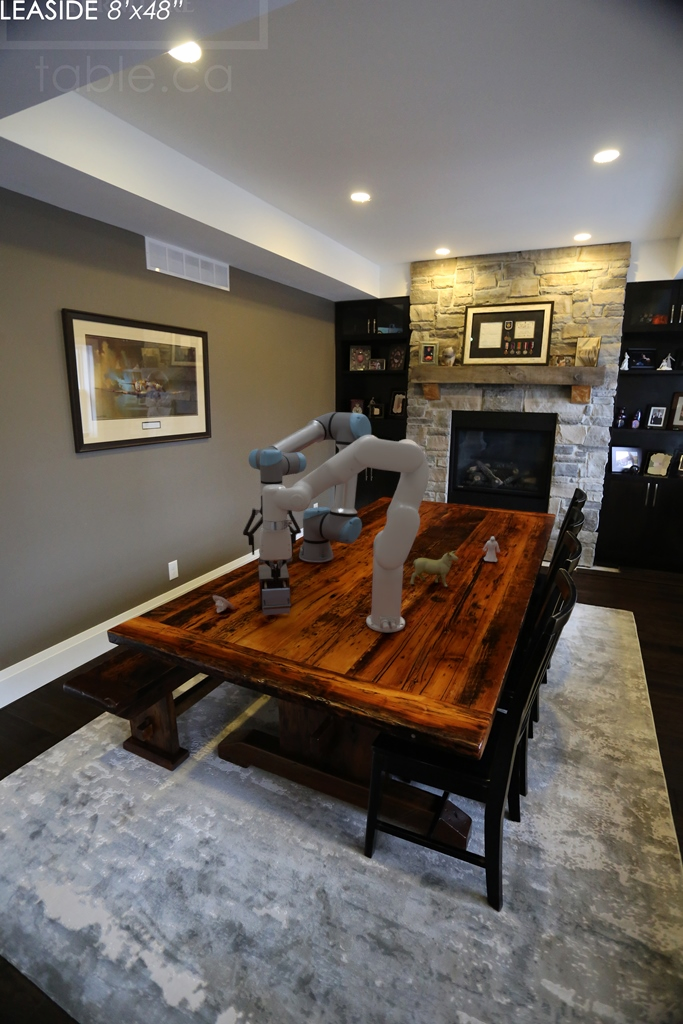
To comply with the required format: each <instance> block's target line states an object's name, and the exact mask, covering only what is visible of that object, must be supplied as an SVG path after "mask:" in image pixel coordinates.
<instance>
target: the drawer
mask: <svg viewBox="0 0 683 1024" xmlns="http://www.w3.org/2000/svg"><path fill="white" fill-rule="evenodd" d="M262 604H263V608H262V616H269V615H284V614H291V608H292V603H291V589H290V588H286V583H285V580H279V581H264V589H262Z"/></svg>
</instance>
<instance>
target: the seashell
mask: <svg viewBox="0 0 683 1024" xmlns="http://www.w3.org/2000/svg"><path fill="white" fill-rule="evenodd" d="M212 599H213V601H214V602H215V604H214V605H215V608H216V610H215V611H216V613H217V614H219V613H222V612H224V611H225V610H226V609H227V608H229V609H233V610H234V609H235V606H234V604H233V603H231V602H230V601H229V600H227V599H226V598H224V597H223V596H219V595H216V594H215V595H214V594H213V595H212Z"/></svg>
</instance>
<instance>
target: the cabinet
mask: <svg viewBox="0 0 683 1024" xmlns="http://www.w3.org/2000/svg"><path fill="white" fill-rule="evenodd" d="M273 564H274V563H273ZM274 565H275V568H276V565H277V563H275V564H274ZM279 580H285V583H286V588H290V574H289V571H288V565H287V563H285V564H284V565H283V566H282V568H281V577H279ZM264 581H274V580H273V578H271V568H270V567H269V566H268V565H267V564H258V595H259V607H260V609H263V604H262V589H264ZM275 581H277V580H275Z"/></svg>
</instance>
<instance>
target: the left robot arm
mask: <svg viewBox="0 0 683 1024" xmlns="http://www.w3.org/2000/svg"><path fill="white" fill-rule="evenodd" d="M364 435H372V425H371V421H370V420H369V418H368V416H366V415H365V414H363V413H358V412H338V411H331V412H328V413H324V414H322V415H319V416H317V417H315V418H313V419H311V420H309V421H308V422H307V423H306V425H305V426H304V427H302V428H300V429H298V430H296V431H295V432H293V433H291V434H289V435H287V436H286V437H284V438H282V439H280V440H278V441H277V442H274V443H273V444H271V445H269V446H267V447H265V448H264V449H262V448H255V449H253V450H251V451H250V453H249V455H248V464H249V466H250V467H251V468H252V469H254V470H259V475H260V476H259V477H260V494H261V495H260V508H255V507H253V508H251V515H250V517H249V519H248V520H247V523H246V525H245V526H244V529H243V531H242V535H243V536H247V538H248V542H247V543H248V546H251V555H252V556H255V535H254V534H255V533H256V532H257V531H258V529H259V528H261V526H263V499H262V490H263V488H264V487H265V486H266V485H272V484H278V485H283V477H285V476H289V475H294V474H295V475H297V474H299V473H302V472H304V471H305V470H306V468H307V458H306V456H305V455H304V454H303V453H302V452H301V451H303V450H304V449H307V448H308V447H311V446H312V445H313V444H315V443H318V444H319V443H322V442H323V441H335V446H336V447H337V448H338V453H339V452H340V451H342V450H343V449H345V448H346V447H347V446H349V445H350V444H352V443H353V442H354V441H356V440H357V439H359V438H360V437H362V436H364ZM358 474H359V473H358ZM358 474H356V475H355V476H353V477H352V478H351V479H349V480H348V481H346V482H345V483H343V484H340V485H335V490H334V491H335V492H334V502H333V507H331V508H330V507H328V506H317V507H316V506H315V507H311V508H307V509H305V510H304V511H303V517H302V530H301V528H300V526H299V524H298V522H297V520H296V518H295V517H294V514H293V511H290V510H287V515H288V516H289V518H290V520H292V524H293V526H294V527H292V525H291V524H289V525H288V526H287V527H289V529H290V535H291V546H292V554H294V545H295V544H297V535H298V534H299V535H300V534H301V533H302V534H303V535H302V544H301V546H300V548H299V552H298V553H299V554H298V560H299V561H300V562H303V563H304V564H308V565H309V564H311V565H323V564H328V563H331V562H332V561H333V560H334V552H333V548H332V545H331V542H330V541H332V542H336V543H340V544H346V545H350V544H353V543H354V542H355V541H357V540H358V538H359V537H360V535H361V532H362V528H363V523H362V519H361V518H359V516H358V511H357V510H356V508H355V505H356V504H355V503H356V494H357V484H358ZM258 514H260V515H261V516H260V518H259V519H258V520H257V522H255V524H254V525H253V526H252V524H253V522H254V520H255V518H256V516H258ZM251 526H252V528H251ZM250 528H251V529H250ZM294 528H295V529H294Z"/></svg>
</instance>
